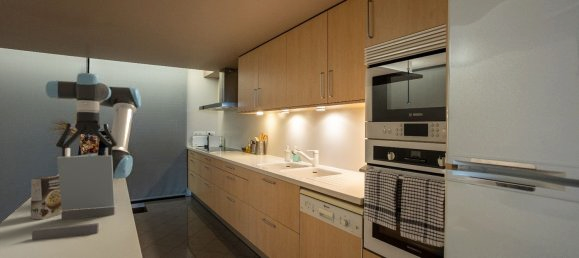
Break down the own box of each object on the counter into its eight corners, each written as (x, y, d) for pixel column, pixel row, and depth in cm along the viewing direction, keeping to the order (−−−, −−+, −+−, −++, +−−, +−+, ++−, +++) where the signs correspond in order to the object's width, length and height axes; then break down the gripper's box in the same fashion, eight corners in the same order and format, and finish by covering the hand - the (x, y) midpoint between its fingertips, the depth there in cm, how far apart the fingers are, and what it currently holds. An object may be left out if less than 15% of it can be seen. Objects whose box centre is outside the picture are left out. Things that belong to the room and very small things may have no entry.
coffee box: (42, 219, 108) (43, 179, 108) (29, 218, 110) (30, 178, 110) (65, 212, 117) (66, 175, 117) (53, 212, 119) (53, 174, 119)
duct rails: (63, 218, 111) (63, 210, 111) (114, 213, 117) (114, 206, 117) (32, 239, 89) (32, 230, 89) (97, 233, 95) (97, 224, 95)
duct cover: (61, 210, 109) (63, 209, 110) (113, 206, 115) (114, 205, 117) (56, 157, 105) (58, 156, 106) (111, 156, 111) (112, 155, 112)
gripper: (45, 110, 104) (45, 166, 104) (121, 112, 112) (120, 164, 112) (54, 111, 111) (54, 163, 111) (125, 113, 119) (125, 161, 119)
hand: (87, 164), depth 111 cm, fingers open, 13 cm apart
